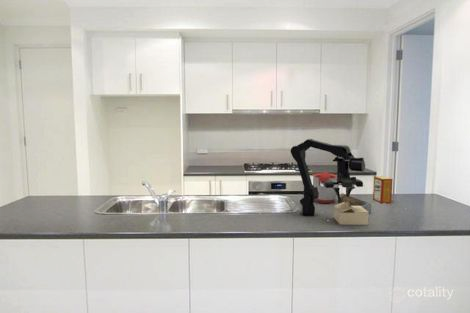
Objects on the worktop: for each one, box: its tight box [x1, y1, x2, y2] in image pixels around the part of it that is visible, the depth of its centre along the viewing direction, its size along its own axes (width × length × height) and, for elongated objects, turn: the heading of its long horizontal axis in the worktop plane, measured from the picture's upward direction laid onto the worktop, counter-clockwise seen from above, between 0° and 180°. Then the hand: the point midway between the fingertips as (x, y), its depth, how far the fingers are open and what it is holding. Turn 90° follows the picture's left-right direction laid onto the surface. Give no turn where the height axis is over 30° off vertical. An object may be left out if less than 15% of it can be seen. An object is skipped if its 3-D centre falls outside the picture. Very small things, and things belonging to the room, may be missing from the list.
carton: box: [333, 206, 370, 226], centre depth 159 cm, size 14×11×7 cm
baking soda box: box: [372, 175, 393, 205], centre depth 196 cm, size 10×6×16 cm
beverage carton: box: [337, 195, 372, 215], centre depth 179 cm, size 8×19×7 cm, turn 23°
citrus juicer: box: [312, 170, 337, 204], centre depth 196 cm, size 16×17×20 cm
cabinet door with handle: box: [333, 192, 353, 213], centre depth 158 cm, size 7×11×6 cm, turn 177°
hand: (342, 199), depth 158 cm, fingers open, 4 cm apart
